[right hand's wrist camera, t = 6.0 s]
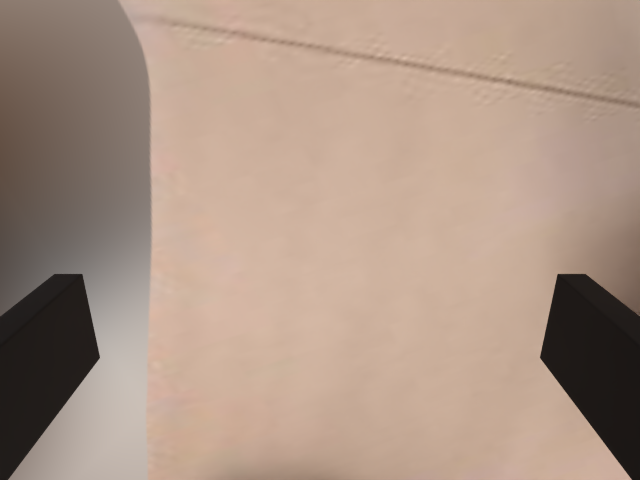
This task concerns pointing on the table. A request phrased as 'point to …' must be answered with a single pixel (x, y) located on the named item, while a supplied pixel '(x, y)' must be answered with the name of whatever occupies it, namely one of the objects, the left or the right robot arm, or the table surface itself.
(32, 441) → the right robot arm
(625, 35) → the table surface
